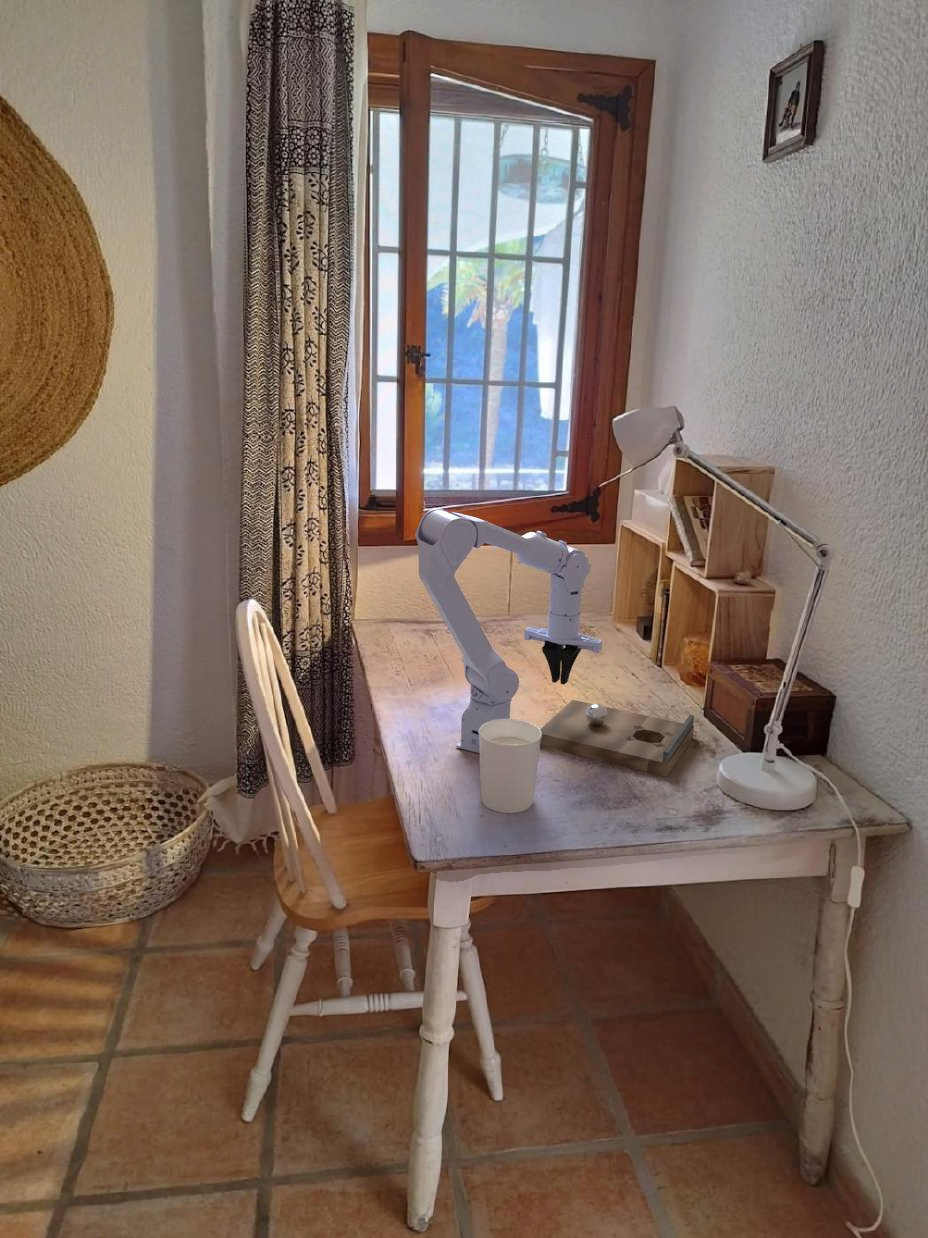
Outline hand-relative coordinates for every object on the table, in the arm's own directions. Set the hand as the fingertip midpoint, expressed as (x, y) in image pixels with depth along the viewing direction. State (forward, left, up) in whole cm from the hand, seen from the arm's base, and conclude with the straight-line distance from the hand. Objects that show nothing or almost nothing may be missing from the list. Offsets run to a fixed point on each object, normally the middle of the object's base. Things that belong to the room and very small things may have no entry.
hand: (560, 681), depth 166 cm
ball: (0, -7, -5) cm, 9 cm away
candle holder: (-30, -3, -10) cm, 32 cm away
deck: (0, -12, -9) cm, 16 cm away
